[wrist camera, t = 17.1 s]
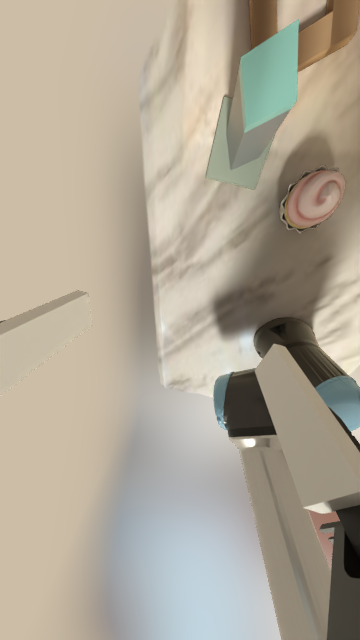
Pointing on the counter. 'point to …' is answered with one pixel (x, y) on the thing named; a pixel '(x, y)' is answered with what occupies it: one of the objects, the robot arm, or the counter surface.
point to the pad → (220, 156)
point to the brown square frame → (308, 28)
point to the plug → (262, 95)
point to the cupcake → (312, 198)
